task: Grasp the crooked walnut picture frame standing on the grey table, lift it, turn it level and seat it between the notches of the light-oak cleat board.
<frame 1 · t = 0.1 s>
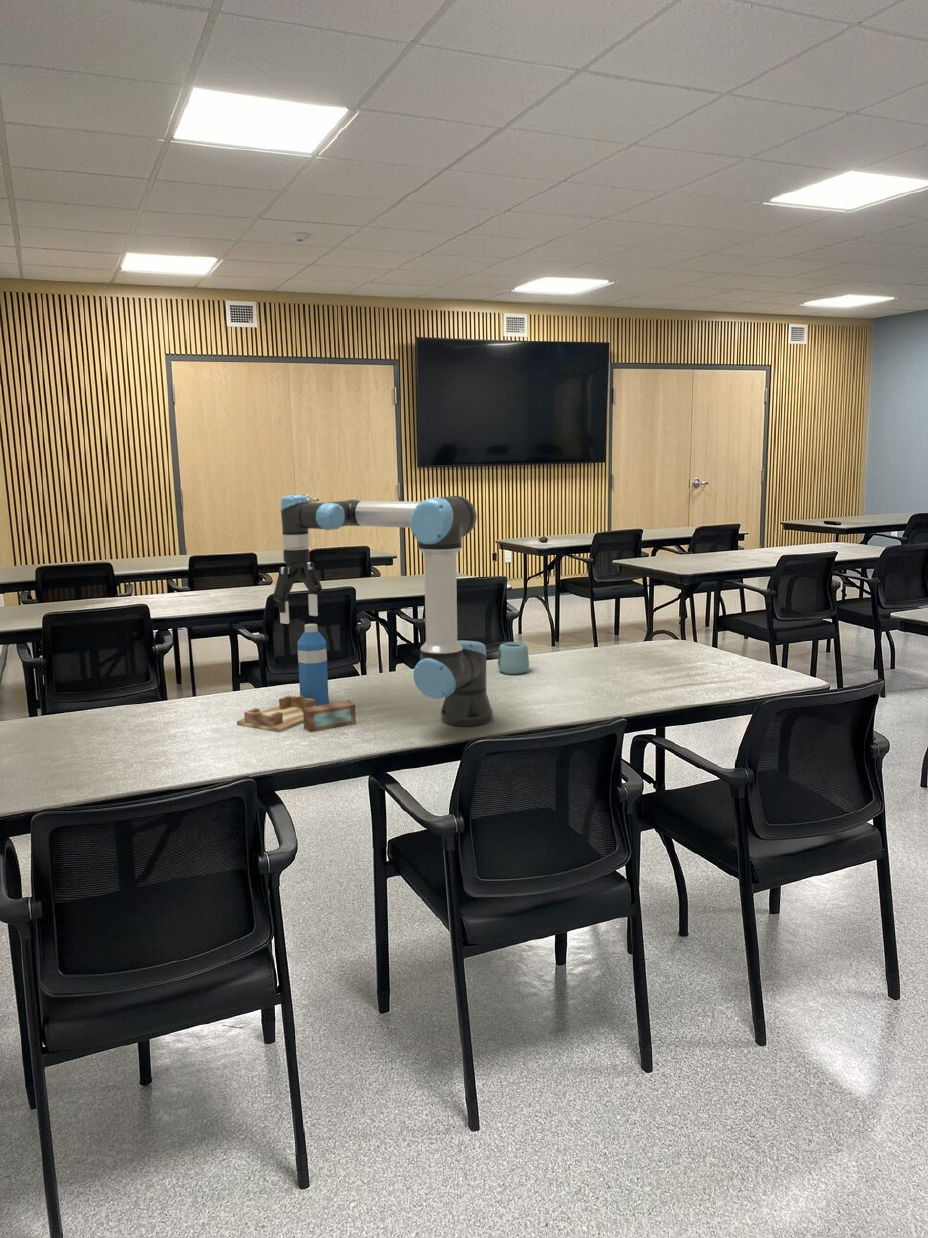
hand: (299, 619, 268), 28 cm above the table, fingers open, 13 cm apart
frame: (330, 726, 257), on the table
water bottle: (314, 704, 279), on the table
cleat board: (281, 718, 264), on the table
mug: (512, 671, 318), on the table
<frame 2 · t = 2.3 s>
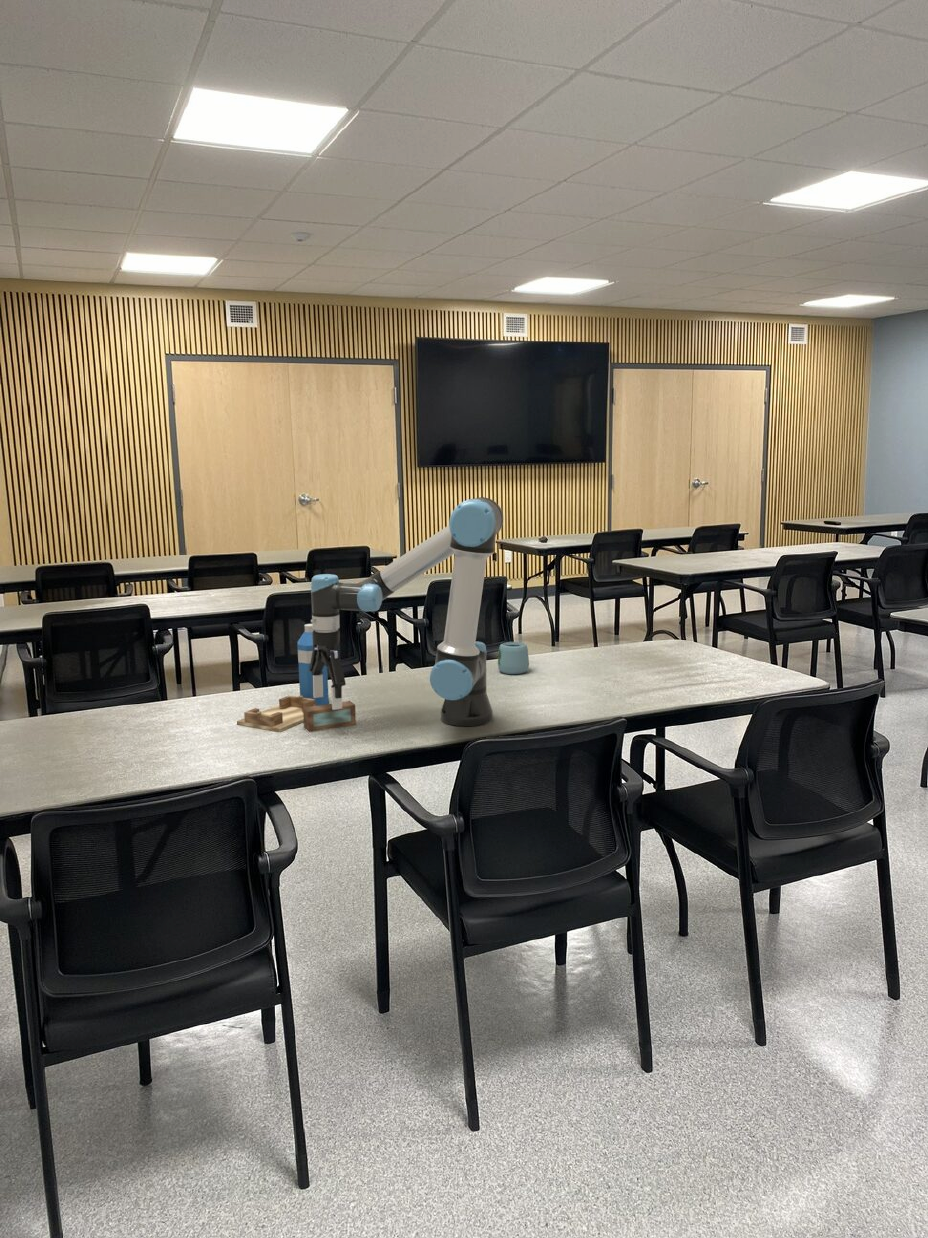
hand: (327, 703, 256), 7 cm above the table, fingers open, 13 cm apart
nothing on the table moved.
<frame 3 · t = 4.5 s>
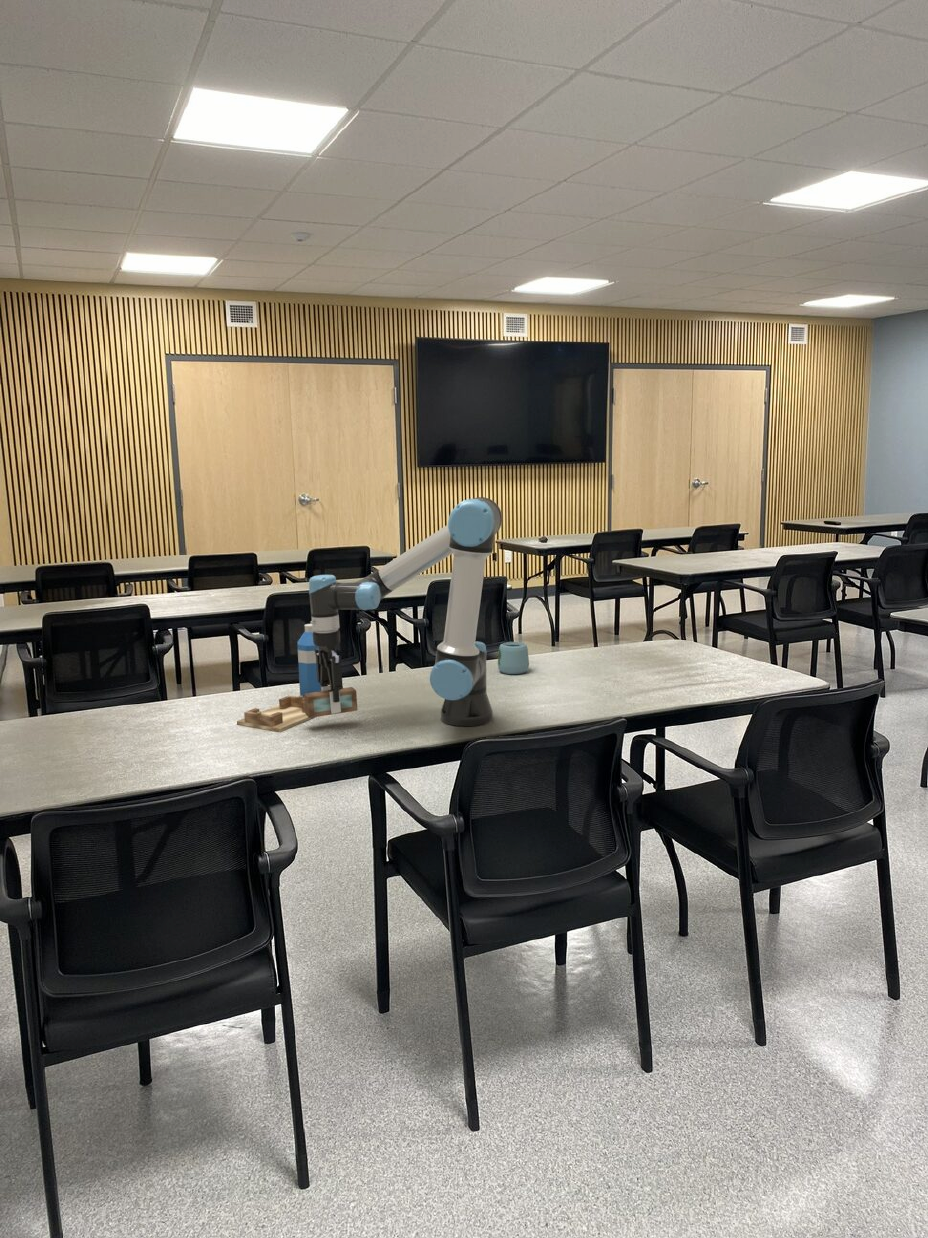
hand: (331, 710, 256), 5 cm above the table, fingers closed on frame, 5 cm apart
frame: (331, 712, 256), point 4 cm above the table, touching gripper
everything else where it was.
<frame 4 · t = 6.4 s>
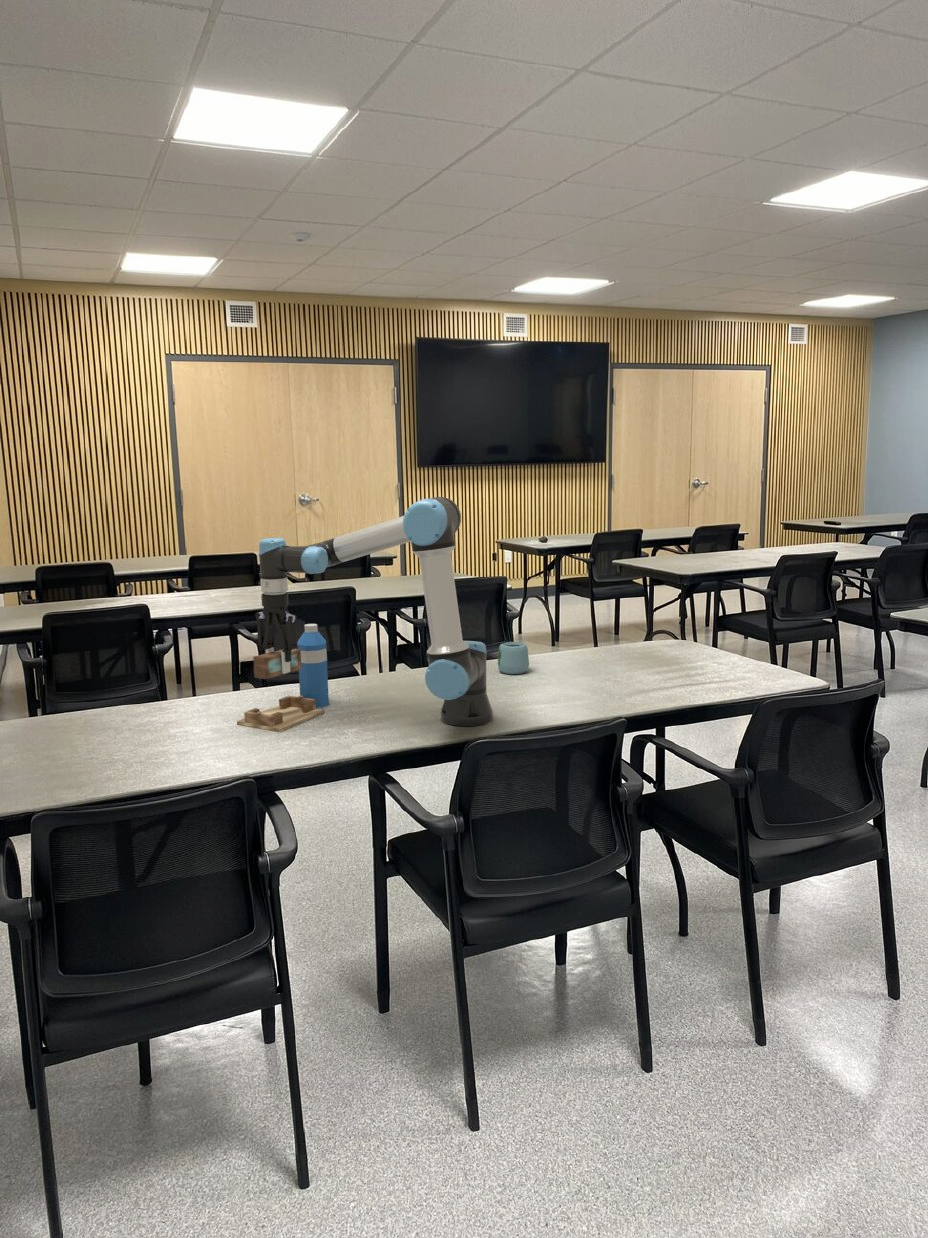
hand: (278, 671, 261), 14 cm above the table, fingers closed on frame, 5 cm apart
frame: (278, 673, 261), point 14 cm above the table, touching gripper
everything else where it was.
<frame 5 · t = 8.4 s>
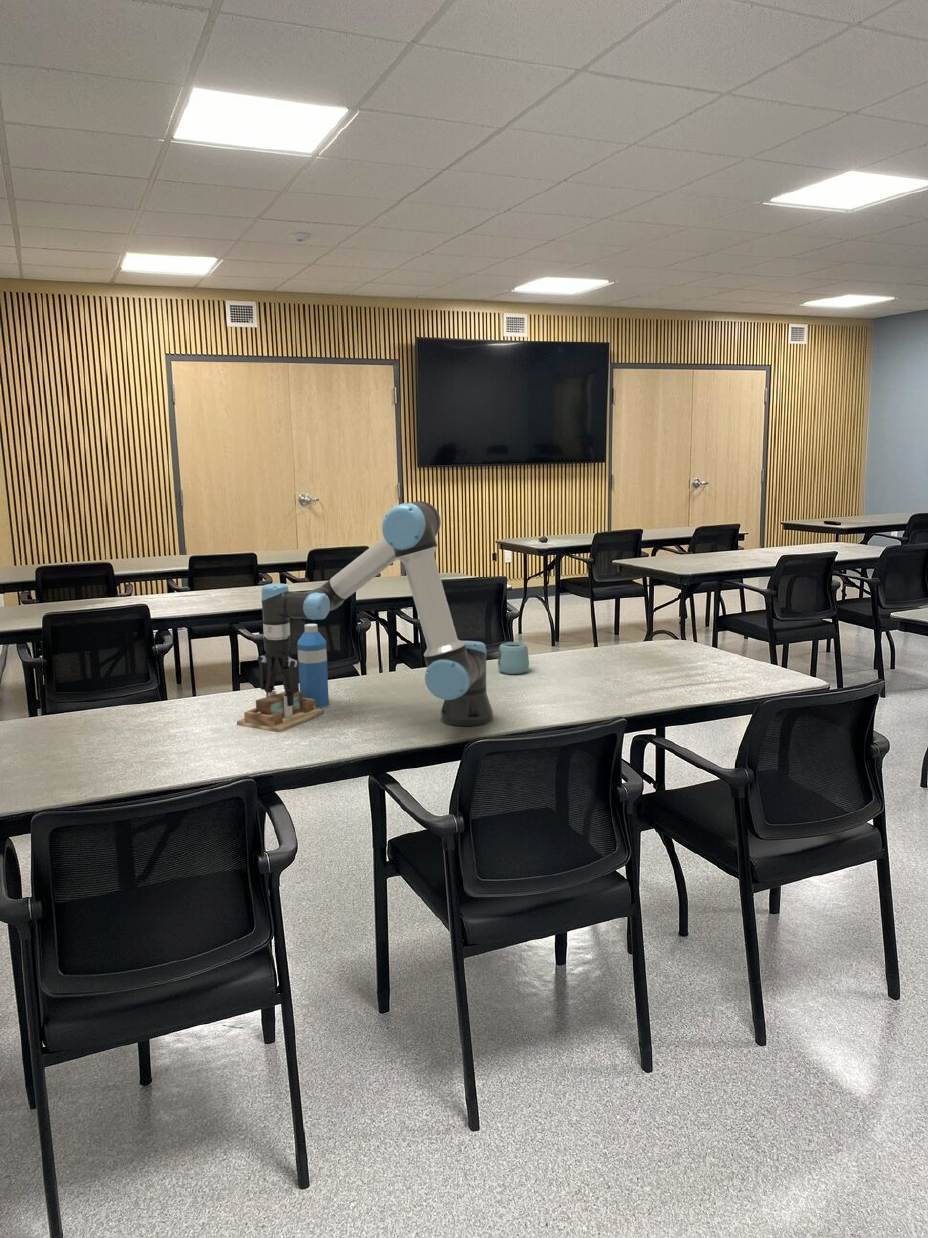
hand: (280, 714, 264), 1 cm above the table, fingers closed on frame, 5 cm apart
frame: (280, 715, 264), point 1 cm above the table, touching cleat board, gripper
everything else where it was.
when the fingers open (1 cm above the table, at t = 8.6 s): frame stays where it is, resting on cleat board.
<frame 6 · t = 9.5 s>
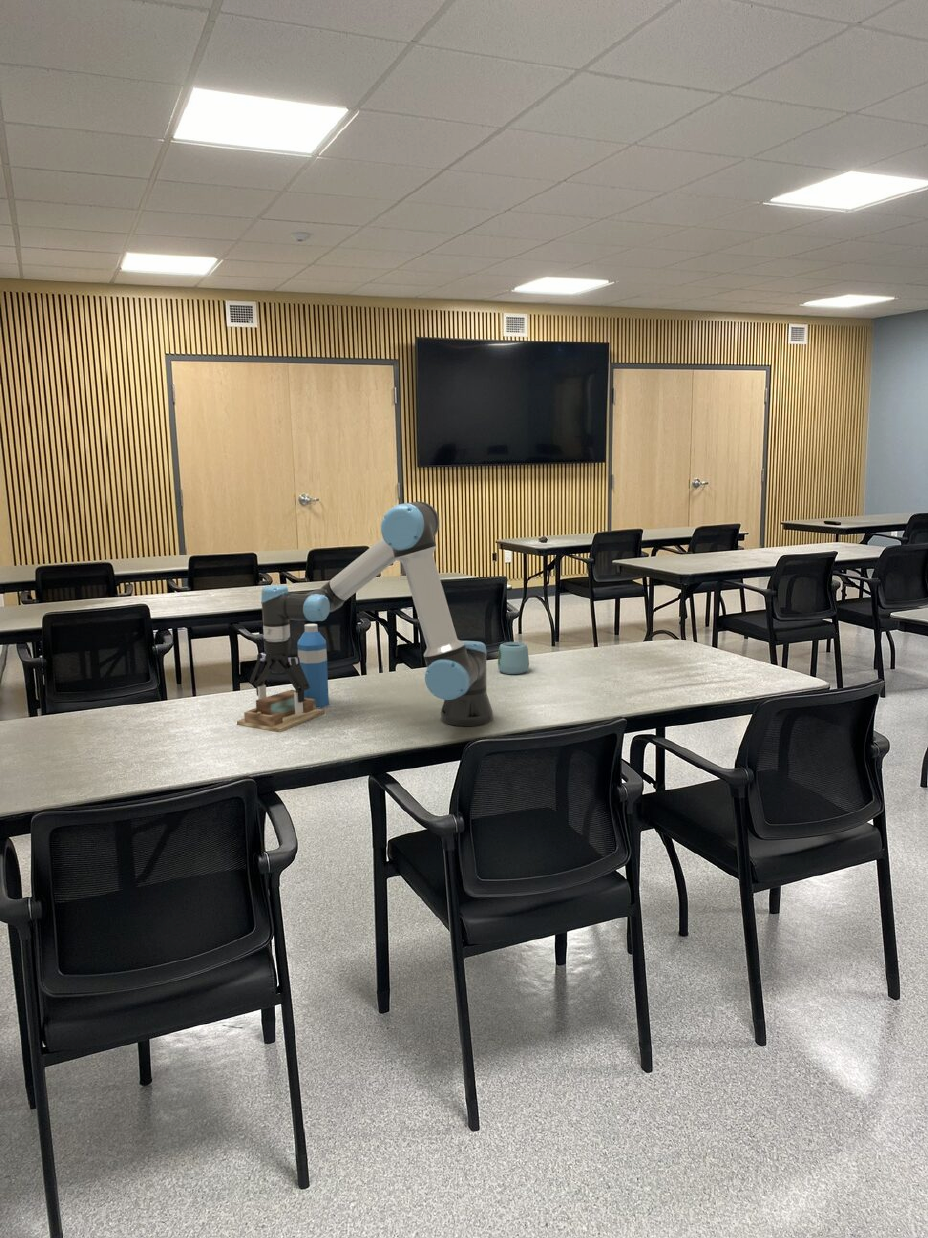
hand: (280, 710, 263), 3 cm above the table, fingers open, 13 cm apart
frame: (280, 715, 264), point 1 cm above the table, touching cleat board
everything else where it was.
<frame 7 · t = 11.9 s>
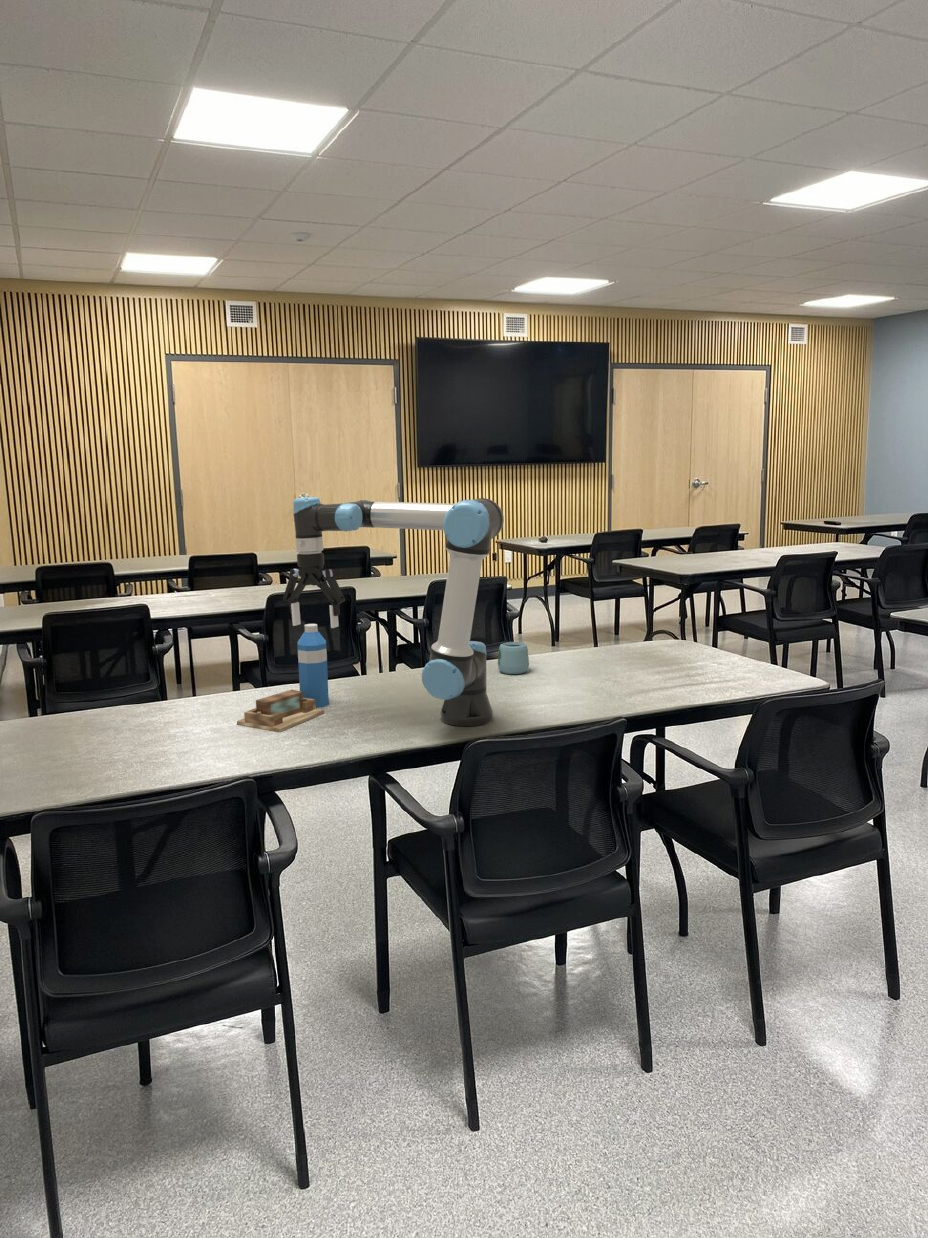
hand: (315, 626, 258), 28 cm above the table, fingers open, 13 cm apart
nothing on the table moved.
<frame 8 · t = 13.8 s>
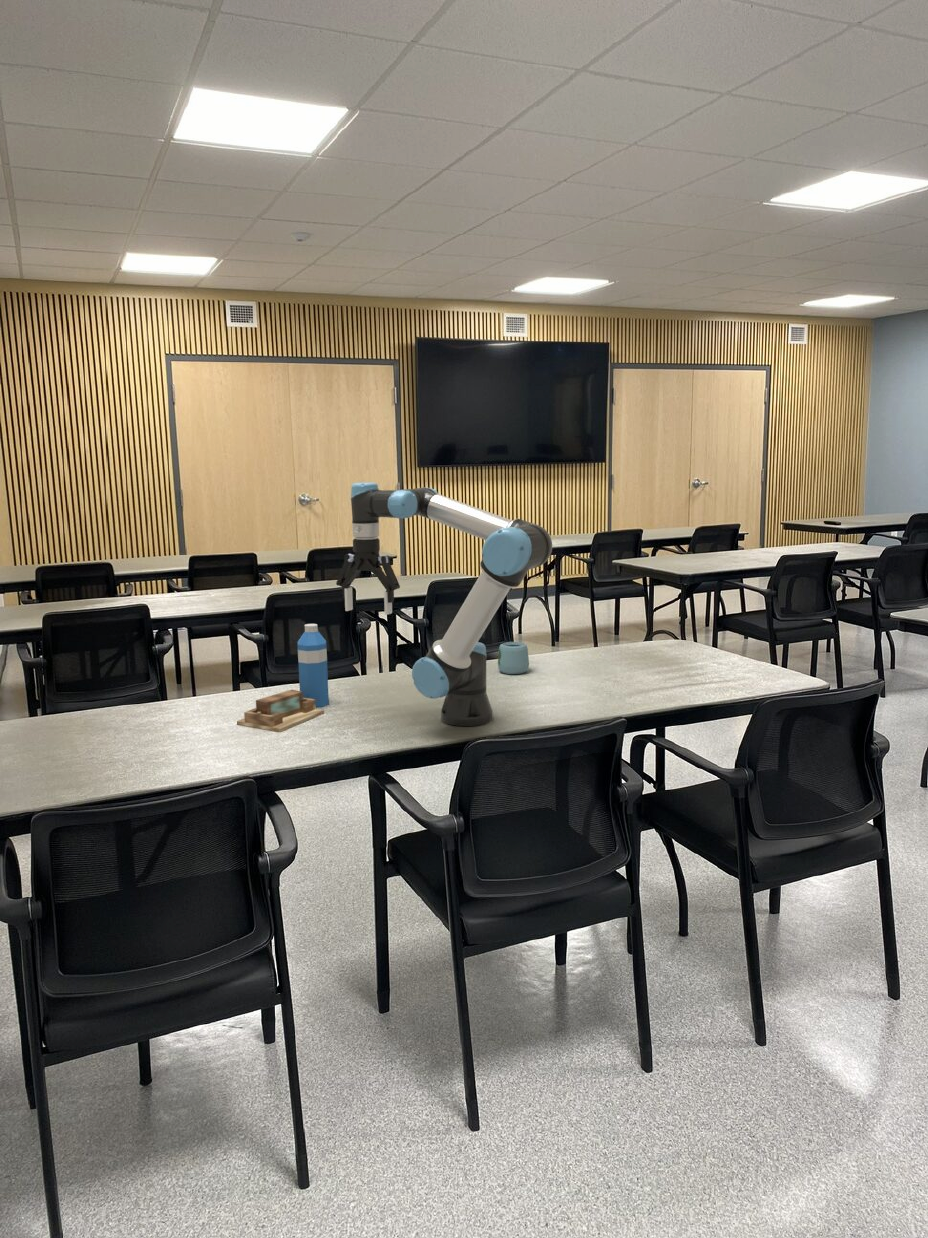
hand: (368, 612, 257), 32 cm above the table, fingers open, 13 cm apart
nothing on the table moved.
at the end: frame 0.2 cm off-centre on the cleat board, point 1.0 cm above the cleat board's base; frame tilted 0°; the gripper is holding nothing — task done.
